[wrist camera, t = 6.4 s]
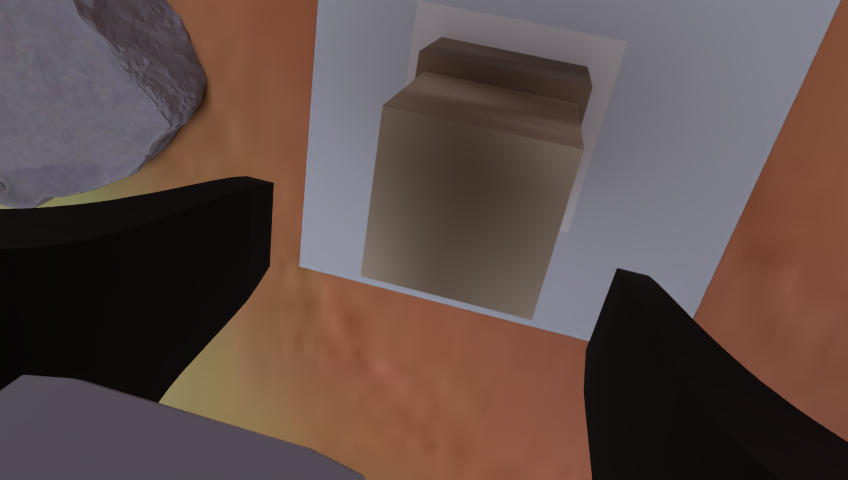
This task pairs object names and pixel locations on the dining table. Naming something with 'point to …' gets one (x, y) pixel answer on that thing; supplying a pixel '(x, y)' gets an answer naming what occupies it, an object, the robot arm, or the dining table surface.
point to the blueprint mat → (601, 128)
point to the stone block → (89, 93)
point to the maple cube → (470, 191)
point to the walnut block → (507, 70)
